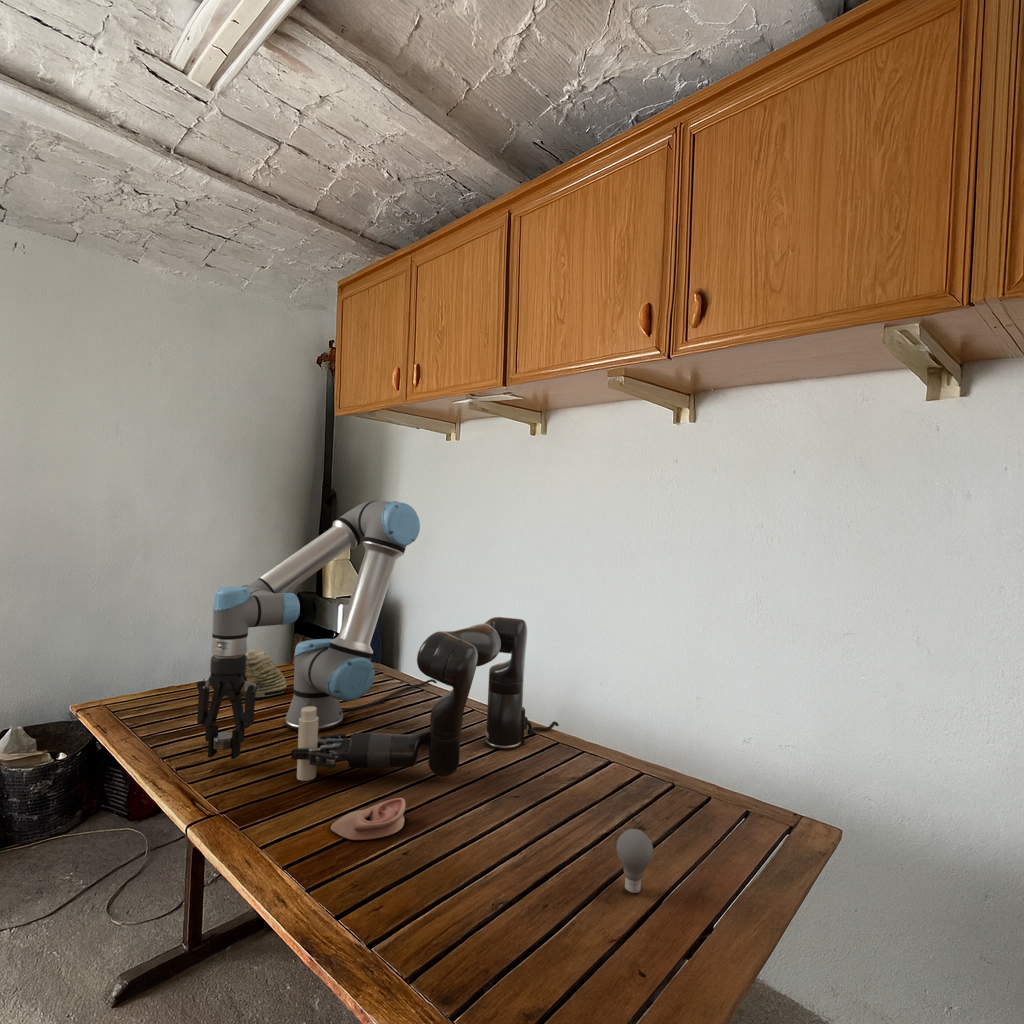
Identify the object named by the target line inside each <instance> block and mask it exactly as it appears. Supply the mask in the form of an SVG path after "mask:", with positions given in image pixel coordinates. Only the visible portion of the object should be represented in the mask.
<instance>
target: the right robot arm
mask: <svg viewBox="0 0 1024 1024" xmlns="http://www.w3.org/2000/svg"><path fill="white" fill-rule="evenodd" d="M527 643H528V625H527V622H526V621H525V620H524V619H522V618H513V617H503V616H495V617H491V618H489V619H488V620H486V621H485V622H484V623H479V624H478V623H477V624H474V625H470V626H468V627H465V628H460V629H456V630H449V631H447V630H446V631H445V630H438V631H436V632H433V633H432V634H430V635H429V636H428V637H426V639H425V640H424V641H423V642H422V644H421V645H420V647H419V648H418V649H419V650H418V651H417V655H416V664H417V667H418V670H419V671H420V672H421V673H422V674H423V675H424V676H426V677H428V678H430V679H433V680H435V681H436V682H439V683H441V684H444V685H446V686H449V687H451V688H452V689H450V691H448V692H447V693H446V694H444V695H442V696H441V697H440V698H438V699H437V700H436V702H435V703H434V705H433V707H432V709H431V711H430V720H429V721H430V722H429V727H430V728H429V729H428V730H425V731H420V732H415V733H412V734H391V733H386V732H352V734H351V736H350V738H349V739H348V738H347V734H346V733H336V734H326V735H319V737H318V748H311V749H309V748H298V743H297V745H296V746H297V747H294V748H292V750H291V757H290V758H291V759H292V760H297V759H309V761H310V765H316V766H317V767H323V768H329V769H330V768H331V769H333V768H334V769H335V768H336V763H341V762H348V763H347V764H348V767H349V768H350V769H385V768H413V767H415V766H416V765H417V762H418V761H419V757H420V755H421V753H422V754H423V752H426V751H428V760H427V763H428V768H429V770H430V771H431V773H432V774H434V775H436V776H437V777H442V778H445V777H449V776H451V775H453V774H454V773H455V772H456V771H457V770H458V768H459V766H460V757H461V754H460V753H461V736H462V732H463V721H464V711H465V707H466V704H467V701H468V698H469V695H470V691H471V689H472V684H473V681H474V677H475V674H476V670H477V668H479V667H482V666H484V665H486V664H488V663H490V662H492V661H493V660H495V659H496V657H497V656H498V655H499V653H501V654H509V655H510V658H509V660H506V661H504V662H499V663H496V664H494V665H492V666H491V667H489V669H488V684H487V685H488V686H487V687H488V688H487V710H486V711H487V712H486V729H484V735H485V744H486V745H487V746H488V747H490V748H492V749H495V750H503V751H504V750H507V751H508V750H513V749H517V748H519V747H521V746H522V745H525V730H527V734H528V735H532V733H533V732H534V731H540V732H547V731H551V730H552V729H553V728H554V727H559V726H560V725H559V723H558V722H557V721H555V720H554V721H552V722H551V723H550V724H549V725H548V726H545V727H542V726H533V725H532V723H531V722H530V721H529V718H528V717H527V716H526V708H525V707H524V705H523V702H524V678H525V666H526V654H527V653H526V652H527V651H526V650H527Z"/></svg>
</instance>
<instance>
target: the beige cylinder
mask: <svg viewBox="0 0 1024 1024" xmlns="http://www.w3.org/2000/svg"><path fill="white" fill-rule="evenodd" d="M318 723H319V717H318V716H317V708H316V707H313V706H308V707H303V708H302V709H301V717H300V718H299V726H298V731H297V744H298V748H309V749H311V748H318V738H319V731H318ZM317 772H318V766H316V765H310V761H309V759H296V779H297V780H298V781H301V782H307V781H312V780H314V779H316V778H317Z"/></svg>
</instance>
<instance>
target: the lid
mask: <svg viewBox="0 0 1024 1024" xmlns="http://www.w3.org/2000/svg"><path fill="white" fill-rule="evenodd" d="M213 748H214V749H216V750H217V751H226V750H230V749H231V748H232V731H222V732H218V733H217V734H215V735H214V736H213Z"/></svg>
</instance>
